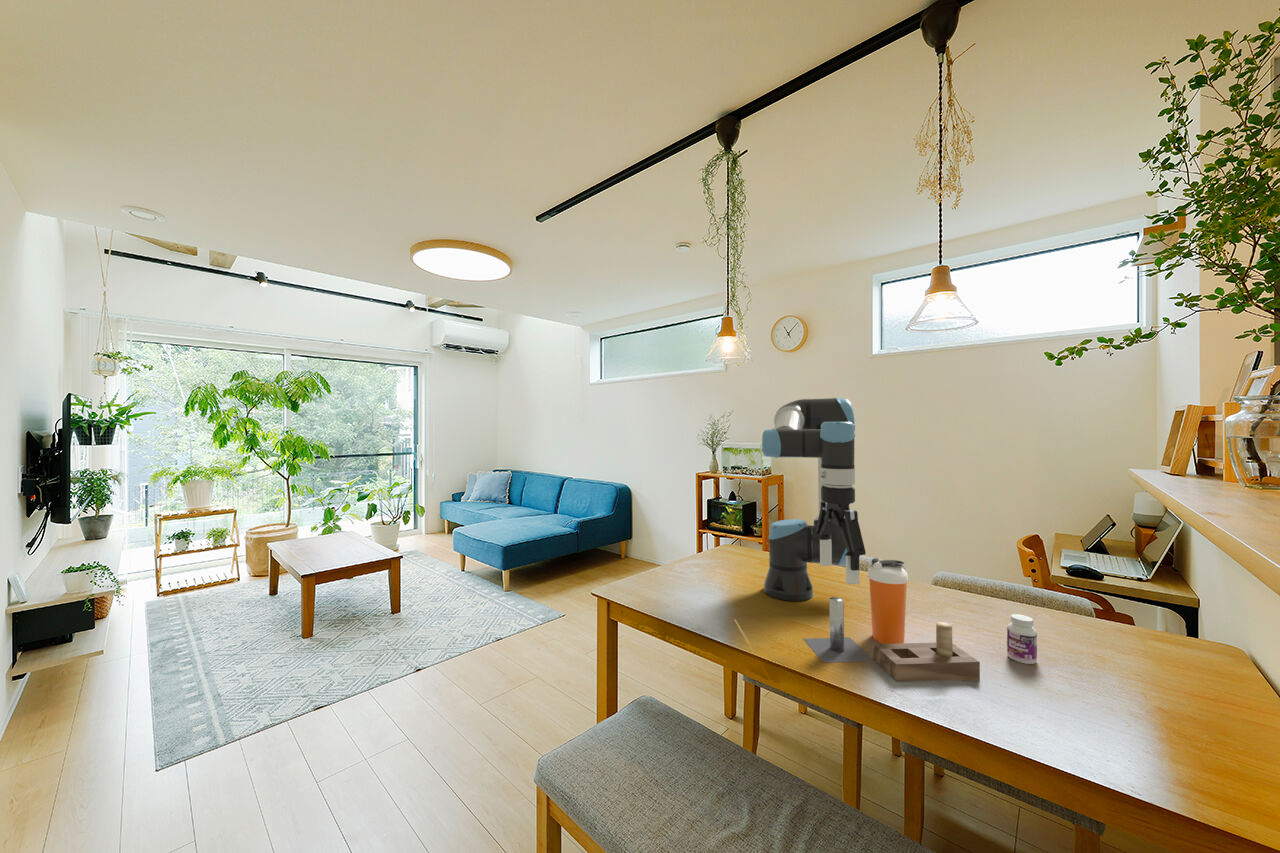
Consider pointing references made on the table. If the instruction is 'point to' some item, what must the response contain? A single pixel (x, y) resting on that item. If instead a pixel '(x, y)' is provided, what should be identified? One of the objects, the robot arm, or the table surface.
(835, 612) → the peg
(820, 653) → the mat
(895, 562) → the shaker bottle
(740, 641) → the table surface
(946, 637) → the dowel
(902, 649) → the hole block
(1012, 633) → the pill bottle
